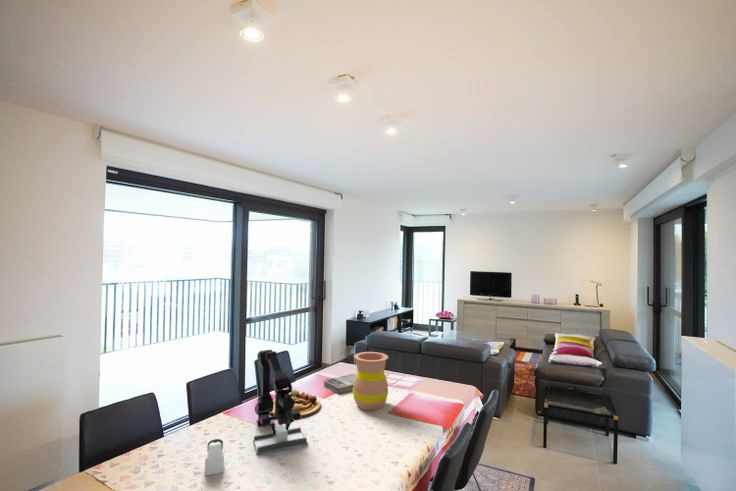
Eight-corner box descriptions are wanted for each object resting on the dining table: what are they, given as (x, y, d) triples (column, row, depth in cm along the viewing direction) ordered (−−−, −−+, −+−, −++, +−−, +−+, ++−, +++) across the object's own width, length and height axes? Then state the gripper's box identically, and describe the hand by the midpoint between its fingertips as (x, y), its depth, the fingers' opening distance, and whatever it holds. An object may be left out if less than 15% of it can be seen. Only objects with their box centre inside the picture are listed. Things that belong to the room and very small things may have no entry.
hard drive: (369, 386, 259) (369, 380, 259) (337, 395, 243) (337, 388, 243) (354, 379, 274) (354, 373, 274) (323, 386, 257) (323, 380, 258)
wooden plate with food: (290, 425, 198) (291, 410, 199) (255, 408, 218) (256, 394, 219) (331, 408, 224) (332, 394, 224) (297, 394, 243) (297, 381, 244)
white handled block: (206, 466, 158) (206, 438, 159) (223, 463, 161) (224, 436, 161) (204, 476, 152) (205, 446, 152) (223, 472, 154) (224, 444, 155)
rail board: (252, 441, 180) (253, 435, 180) (300, 432, 190) (301, 426, 190) (256, 455, 168) (256, 448, 168) (307, 444, 178) (307, 438, 178)
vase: (388, 399, 236) (389, 352, 237) (387, 414, 214) (387, 362, 215) (354, 397, 238) (355, 351, 239) (349, 411, 216) (350, 360, 217)
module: (273, 435, 181) (273, 426, 181) (283, 433, 184) (283, 424, 184) (277, 443, 174) (277, 433, 174) (287, 440, 177) (287, 431, 177)
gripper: (264, 412, 168) (263, 447, 168) (303, 406, 176) (303, 439, 176) (260, 403, 178) (259, 435, 178) (298, 397, 186) (297, 428, 186)
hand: (280, 435), depth 179 cm, fingers closed on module, 5 cm apart
